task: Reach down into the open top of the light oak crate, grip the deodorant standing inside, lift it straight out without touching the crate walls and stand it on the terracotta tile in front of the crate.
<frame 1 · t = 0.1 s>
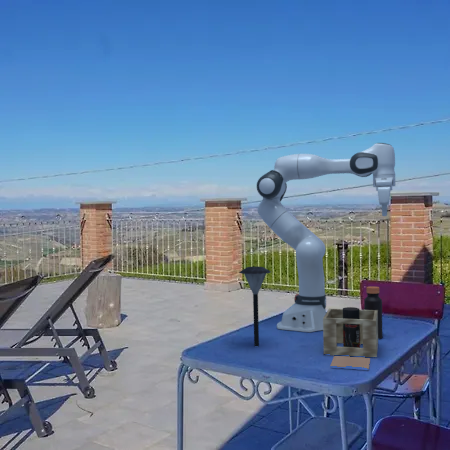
hand: (384, 215, 214), 48 cm above the table, tool pointing down, fingers open, 8 cm apart
tile: (350, 364, 172), on the table
deodorant: (351, 350, 189), resting in crate
solar garden light: (256, 346, 197), on the table
bottle: (373, 337, 206), on the table
crate: (351, 349, 189), on the table
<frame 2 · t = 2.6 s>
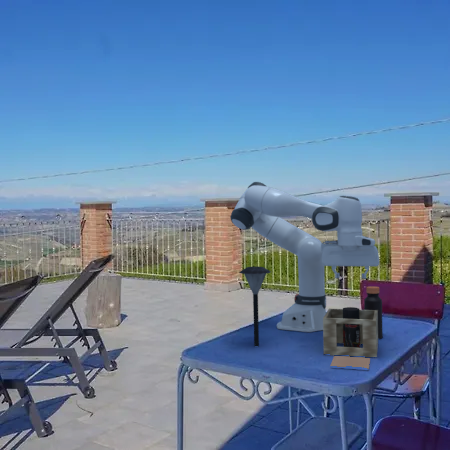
hand: (350, 278, 188), 26 cm above the table, tool pointing down, fingers open, 8 cm apart
nothing on the table moved.
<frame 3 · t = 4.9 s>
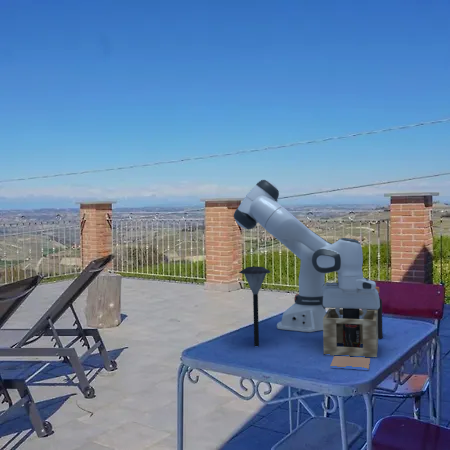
hand: (351, 320, 189), 11 cm above the table, tool pointing down, fingers closed on deodorant, 6 cm apart
deodorant: (351, 350, 189), resting in crate, touching gripper
everything else where it was.
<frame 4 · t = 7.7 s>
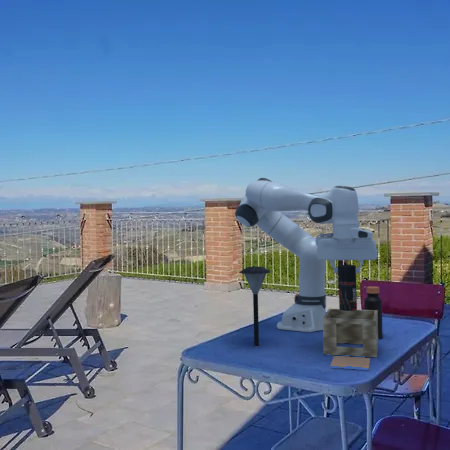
hand: (347, 273, 178), 29 cm above the table, tool pointing down, fingers closed on deodorant, 6 cm apart
deodorant: (348, 309, 179), point 17 cm above the table, touching gripper
everything else where it was.
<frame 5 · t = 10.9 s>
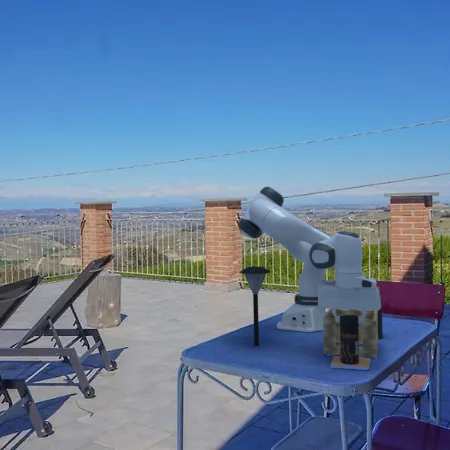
hand: (349, 322, 171), 14 cm above the table, tool pointing down, fingers closed on deodorant, 6 cm apart
deodorant: (349, 362, 172), point 1 cm above the table, touching gripper, tile
everything else where it was.
when the fingers open (12 cm above the table, at t = 11.9 s): deodorant stays where it is, resting on tile.
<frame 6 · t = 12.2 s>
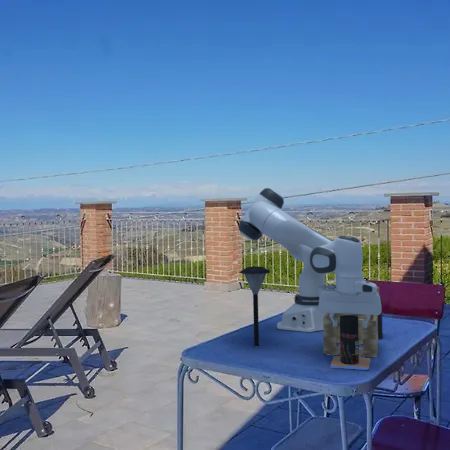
hand: (349, 327, 171), 12 cm above the table, tool pointing down, fingers open, 8 cm apart
deodorant: (349, 362, 172), point 1 cm above the table, touching tile
everything else where it was.
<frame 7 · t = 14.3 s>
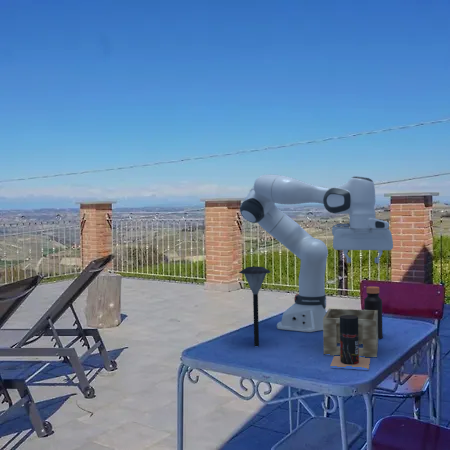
hand: (362, 263, 180), 32 cm above the table, tool pointing down, fingers open, 8 cm apart
nothing on the table moved.
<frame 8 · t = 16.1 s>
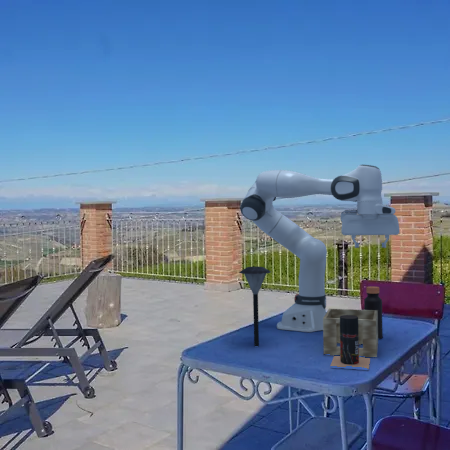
hand: (370, 247, 188), 37 cm above the table, tool pointing down, fingers open, 8 cm apart
nothing on the table moved.
at the end: deodorant inside the target area on the tile (0.3 cm from its centre), point 0.6 cm above the tile's base; deodorant tilted 0°; the gripper is holding nothing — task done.
